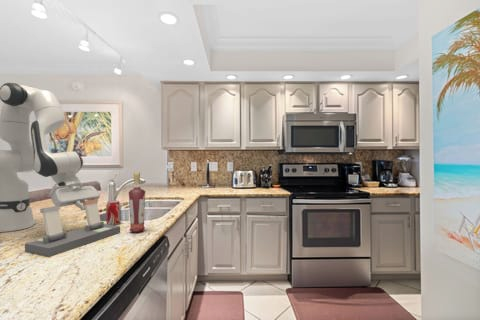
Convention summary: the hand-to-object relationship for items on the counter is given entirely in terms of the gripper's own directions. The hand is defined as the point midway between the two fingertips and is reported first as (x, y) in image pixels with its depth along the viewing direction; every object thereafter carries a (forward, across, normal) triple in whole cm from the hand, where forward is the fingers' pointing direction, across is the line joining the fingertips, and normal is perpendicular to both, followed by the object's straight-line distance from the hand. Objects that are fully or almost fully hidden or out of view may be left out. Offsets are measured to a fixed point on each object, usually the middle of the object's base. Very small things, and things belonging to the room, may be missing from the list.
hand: (85, 208), depth 116 cm
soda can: (+6, -18, -11) cm, 22 cm away
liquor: (+22, -12, +5) cm, 25 cm away
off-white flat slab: (+10, 0, -2) cm, 10 cm away
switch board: (+12, +8, -4) cm, 15 cm away
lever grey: (+10, +17, -1) cm, 20 cm away
